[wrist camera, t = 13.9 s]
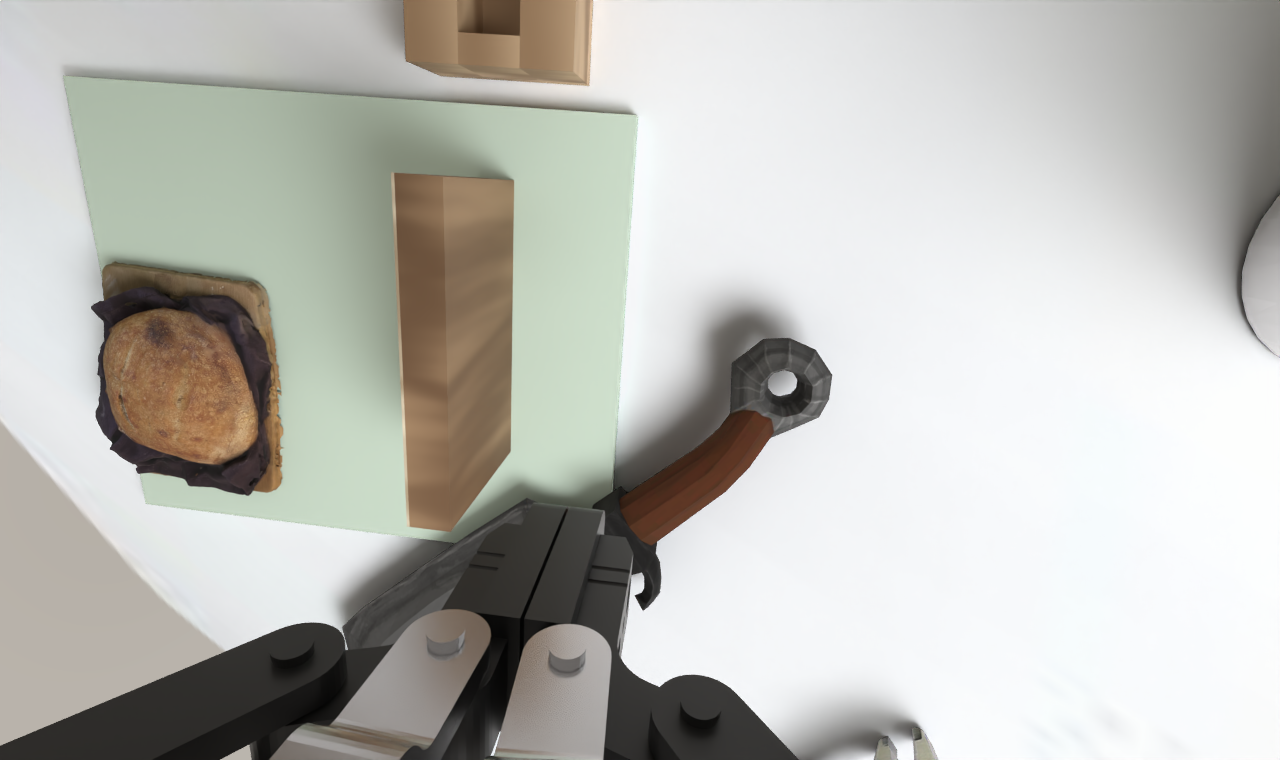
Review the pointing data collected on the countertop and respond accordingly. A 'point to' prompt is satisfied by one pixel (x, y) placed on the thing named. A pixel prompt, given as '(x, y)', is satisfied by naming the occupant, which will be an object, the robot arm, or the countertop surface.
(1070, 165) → the countertop surface
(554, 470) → the mat
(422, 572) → the knife
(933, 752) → the caliper
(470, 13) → the stand
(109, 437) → the bread roll
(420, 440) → the board
